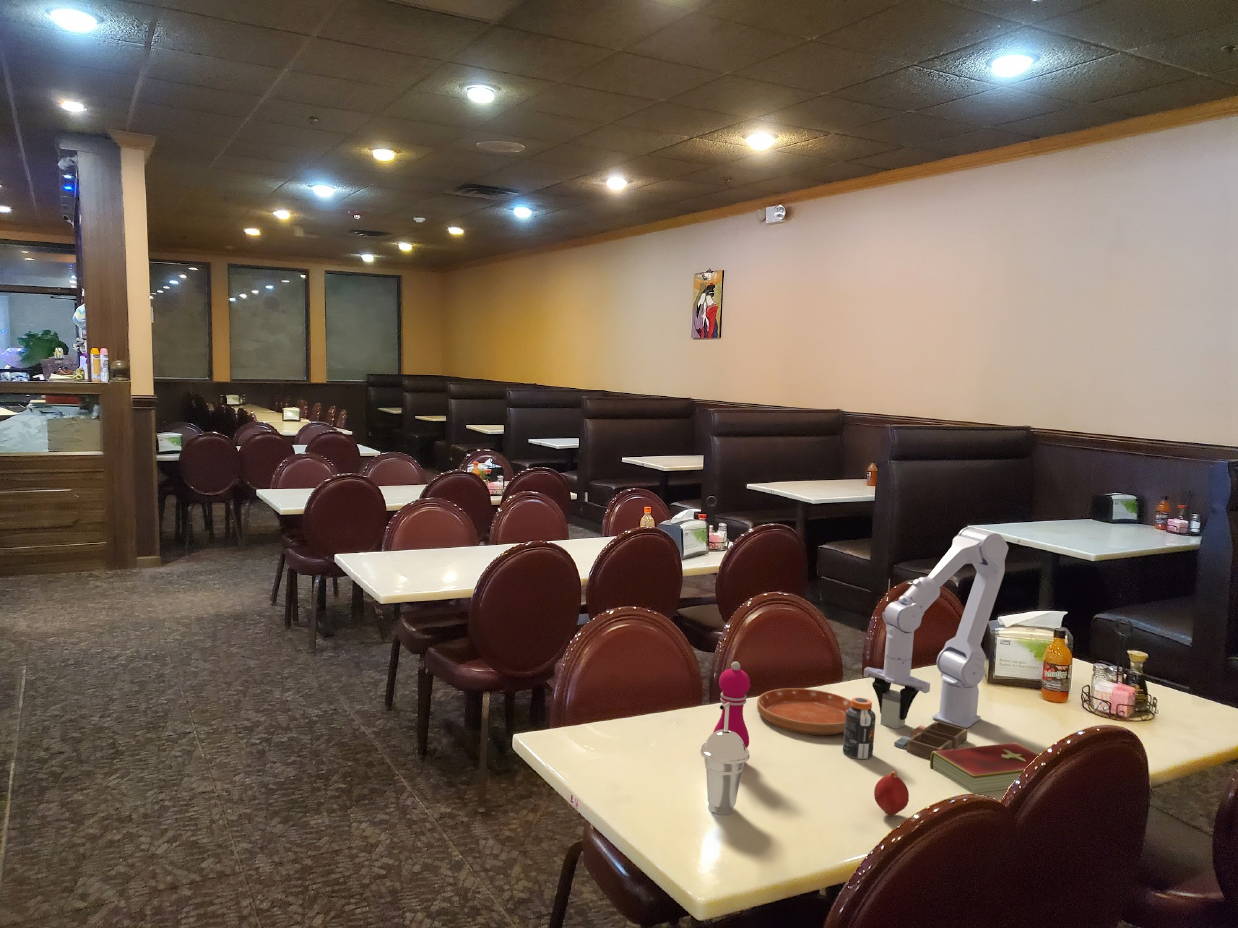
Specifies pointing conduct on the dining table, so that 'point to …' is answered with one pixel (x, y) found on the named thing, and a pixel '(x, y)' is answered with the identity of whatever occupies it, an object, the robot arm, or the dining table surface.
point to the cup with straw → (724, 766)
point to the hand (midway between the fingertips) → (893, 715)
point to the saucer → (804, 710)
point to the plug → (891, 709)
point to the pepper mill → (734, 700)
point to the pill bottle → (859, 729)
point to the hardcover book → (983, 765)
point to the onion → (891, 794)
